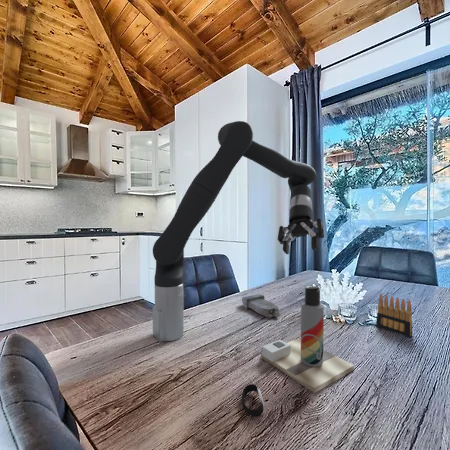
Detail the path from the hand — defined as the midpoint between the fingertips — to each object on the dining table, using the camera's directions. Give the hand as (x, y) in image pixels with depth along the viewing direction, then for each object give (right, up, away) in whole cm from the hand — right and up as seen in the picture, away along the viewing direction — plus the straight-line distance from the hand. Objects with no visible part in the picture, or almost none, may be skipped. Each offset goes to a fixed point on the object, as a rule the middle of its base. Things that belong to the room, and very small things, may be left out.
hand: (299, 251), depth 82 cm
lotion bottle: (0, -28, -11) cm, 30 cm away
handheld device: (-7, -28, +29) cm, 41 cm away
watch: (-17, -31, -25) cm, 43 cm away
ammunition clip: (+35, -29, +10) cm, 46 cm away
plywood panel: (-1, -29, -10) cm, 31 cm away
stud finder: (-9, -28, -8) cm, 30 cm away
